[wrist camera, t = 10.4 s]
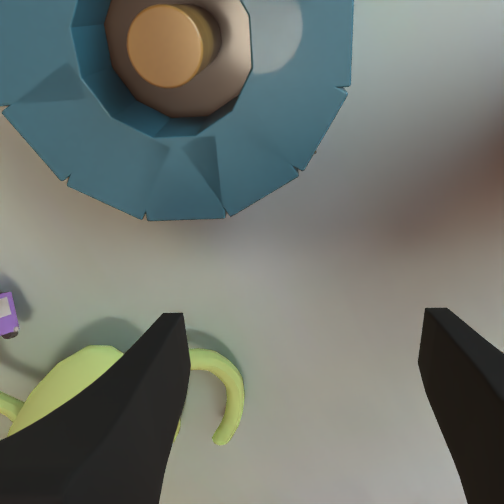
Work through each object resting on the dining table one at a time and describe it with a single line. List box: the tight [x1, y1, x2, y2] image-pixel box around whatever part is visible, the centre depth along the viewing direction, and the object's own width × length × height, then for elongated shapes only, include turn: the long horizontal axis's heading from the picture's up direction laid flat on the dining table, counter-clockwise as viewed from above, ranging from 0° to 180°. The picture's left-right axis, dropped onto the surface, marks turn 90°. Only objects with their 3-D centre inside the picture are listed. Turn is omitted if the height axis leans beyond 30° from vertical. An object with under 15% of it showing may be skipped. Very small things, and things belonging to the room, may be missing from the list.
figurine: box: [0, 292, 244, 445], centre depth 29 cm, size 18×27×6 cm
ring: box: [0, 0, 354, 221], centre depth 17 cm, size 13×13×3 cm
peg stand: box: [104, 0, 316, 154], centre depth 17 cm, size 10×10×6 cm
